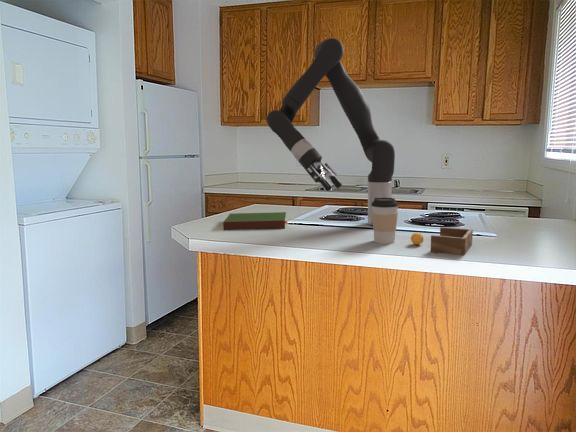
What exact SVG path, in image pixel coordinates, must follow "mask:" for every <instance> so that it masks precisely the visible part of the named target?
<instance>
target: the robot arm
mask: <svg viewBox="0 0 576 432" xmlns="http://www.w3.org/2000/svg"><path fill="white" fill-rule="evenodd" d="M344 52H345V51H344V45H343V43H342V42H341V41H340V40H339V39H338V38H333V37H329V38H326V39H324V40H323V41H321V42H320V43H318V44H317V45H316V47H315V49H314V60H313V61H312V62H311V64H310V65H309V67H308V68H307V70H306V71H305V72H304V73H302V75H301V76H300V77H299V78H298V79H297V80H296V81H295V83H294V84H293V85H292V86H291V87H290V89H289V90H288V91H287V92H286V94H285V96H284V97H283V99H282V100H281V107H280V108H279V109H273V110H271V111H270V112H268V114H267V115H266V124H267V126H268V127H269V129H270V130H271V131H272V132H273V133H275V134H276V135H277V136H278V137H279V138H280V140H281V141H282V143H283V144H284V146H285V147H286V148H287V149H288V150H289V152H290V153H291V154H292V155H293V158H295V160H296V161H298V163H299V164H300V165H301V167H303V169H304V170H305V171H306V172H307V173H308V175H309V176H310V177H311V178H312V180H313V181H314V182H315V183H316V184H317V183H319V184H321V185H322V186H323V188H324V189H325V190H326V191H327V192H329V191H331V190H332V189H333V185H334V186H335V188H336V189H340V188H341V187H342V185H343V183H342V182H341V181H340V180H339V179H338V178H337V176H338V174H337V172H335V171H336V170H335V171H334V169H333V168H332V167H331V166H330V165H329V164H328V163H327V162H326V163H322V160H323V156H322V155H321V154H320V153H319V151H318V150H317V149H316V148H315V147H314V146H313V144H311V142H309V141H308V140H307V139H306V137H304V135H303V134H302V133H301V132H300V131H299V130H298V129H297V128H296V127H295V126H294V125H293V121H294V119H295V117H296V115H297V113H298V112H299V110H300V109H301V108H302V106H303V105H304V104H305V103H306V101H307V100H308V98H309V97H310V95H311V94H312V92H313V91H314V90H315V89H316V87H317V85H318V84H319V83H320V82H321V80H322V79H323V78H324V77H326V79H327V80H328V82H329V83H330V85H331V88H332V90H333V92H334V93H335V96H336V97H337V100H338V102H339V104H340V106H341V108H342V110H343V112H344V115H345V116H346V117H347V119H348V121H349V122H350V125H351V126H352V128H353V131H355V134H356V135H357V137H358V140H359V143H360V145H361V147H362V150H363V153H364V155H365V157H366V158H367V160H368V162H370V163H371V171H370V172H369V174H368V175H367V225H369V226H372V225H373V220H372V206H371V205H372V202H373V201H374V199H375V197H376V198H393V197H392V193H393V192H392V190H393V189H392V187H393V186H392V184H393V183H392V182H393V181H392V180H393V175H394V174H395V173H394V172H395V161H396V160H395V158H396V155H395V147H394V145H393V143H391V141H388V140H384V139H381V138H380V136H379V135H378V132H377V131H376V130H375V127H374V125H373V121H372V114H371V113H372V112H371V108H370V105H369V103H368V101H367V98H366V97H365V95H364V93H363V91H362V90H361V88H360V87H359V86H358V85H357V84H356V82H355V81H354V80H353V79H352V78H351V77H350V76H349V75H348V73H347V72H346V69H345V68H344V66H343V63H342V62H341V61H342V58H343V56H344V54H345V53H344ZM328 180H329V181H330V182H331V183H332V184H333V185H332V184H331V183H330V182H329V181H328Z"/></svg>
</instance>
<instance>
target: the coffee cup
mask: <svg viewBox="0 0 576 432" xmlns="http://www.w3.org/2000/svg"><path fill="white" fill-rule="evenodd" d="M371 206H372V220H373V226H372V229H373V242H374V243H375V244H380V245H381V244H382V245H388V244H389V245H391V244H394V243H395V242H396V231H397V224H398V218H399V217H398V216H399V215H398V214H399V212H398V209H399V206H400V205H399V202H398V201H397V200H396V199H395V198H393V197H392V198H376V197H375V199H374V201H373V202H372V205H371Z"/></svg>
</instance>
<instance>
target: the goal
mask: <svg viewBox="0 0 576 432" xmlns="http://www.w3.org/2000/svg"><path fill="white" fill-rule="evenodd" d="M473 233H474V230H473V229H471V228H470V229H469V228H457V227H445V226H443V227H442V226H441V227H440V228H439V235H435V234H431V235H430V253H431V252H432V253H442V254H451V255H453V254H454V255H462V256H465V255H466V253H468V251H469V249H470V248H471V247H472V245H473Z"/></svg>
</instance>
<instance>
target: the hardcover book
mask: <svg viewBox="0 0 576 432" xmlns="http://www.w3.org/2000/svg"><path fill="white" fill-rule="evenodd" d="M286 215H287V212H286V211H283V212H282V211H280V212H279V211H278V212H277V211H276V212H242V213H241V212H240V213H234V212H233V213H229V214H228V215H227V216H226V218H225V219H224V220H223V222H222V223H223V224H222V225H223V230H224V231H240V230H243V231H244V230H245V231H246V230H281V229H282V230H283V229H284V230H285V229H286V224H287V223H288V221H287V219H286V217H287V216H286Z"/></svg>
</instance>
